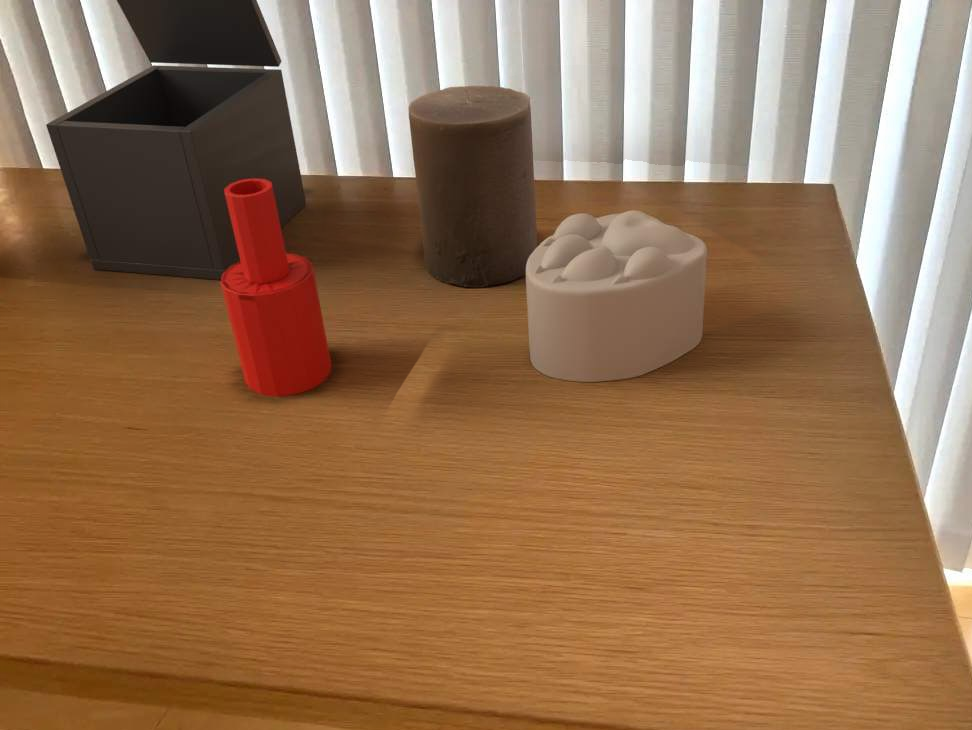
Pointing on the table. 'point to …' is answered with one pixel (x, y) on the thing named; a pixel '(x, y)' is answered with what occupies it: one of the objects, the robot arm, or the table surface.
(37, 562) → the table surface
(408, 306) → the table surface
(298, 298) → the bottle
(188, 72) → the bin
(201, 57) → the lid
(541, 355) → the lumpy-topped squat cylinder
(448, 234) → the pillar candle
